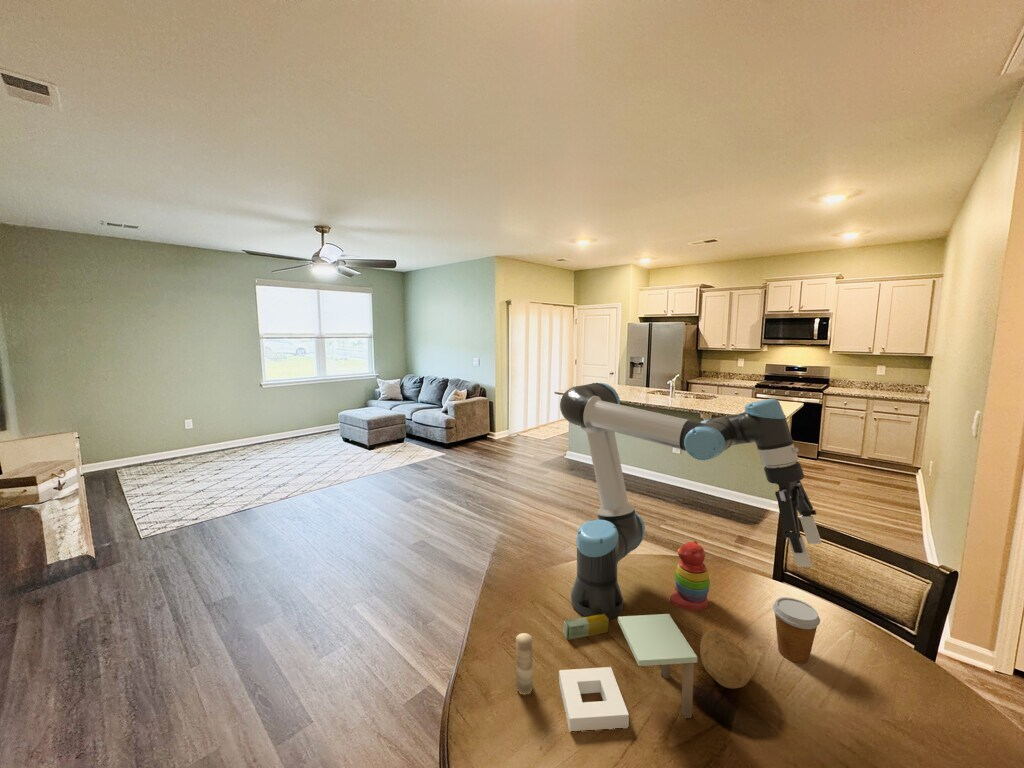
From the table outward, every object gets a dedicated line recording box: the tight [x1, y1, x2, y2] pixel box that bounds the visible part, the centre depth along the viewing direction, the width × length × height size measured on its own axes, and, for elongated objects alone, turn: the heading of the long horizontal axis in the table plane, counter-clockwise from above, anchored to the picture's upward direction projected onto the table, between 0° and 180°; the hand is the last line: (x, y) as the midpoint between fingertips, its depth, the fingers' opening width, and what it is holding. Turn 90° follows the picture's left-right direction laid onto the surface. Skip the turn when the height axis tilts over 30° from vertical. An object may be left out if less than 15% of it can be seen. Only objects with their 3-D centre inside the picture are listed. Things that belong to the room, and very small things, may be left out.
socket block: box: [558, 666, 630, 733], centre depth 88 cm, size 12×12×3 cm
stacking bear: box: [668, 539, 711, 611], centre depth 121 cm, size 11×10×18 cm
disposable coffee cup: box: [772, 596, 821, 664], centre depth 100 cm, size 10×10×12 cm
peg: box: [515, 632, 534, 694], centre depth 91 cm, size 4×4×12 cm
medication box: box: [563, 614, 610, 640], centre depth 109 cm, size 12×3×4 cm, turn 104°
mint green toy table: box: [617, 613, 698, 719], centre depth 89 cm, size 13×12×14 cm
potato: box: [699, 629, 752, 689], centre depth 94 cm, size 10×14×8 cm
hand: (809, 554), depth 95 cm, fingers open, 13 cm apart
